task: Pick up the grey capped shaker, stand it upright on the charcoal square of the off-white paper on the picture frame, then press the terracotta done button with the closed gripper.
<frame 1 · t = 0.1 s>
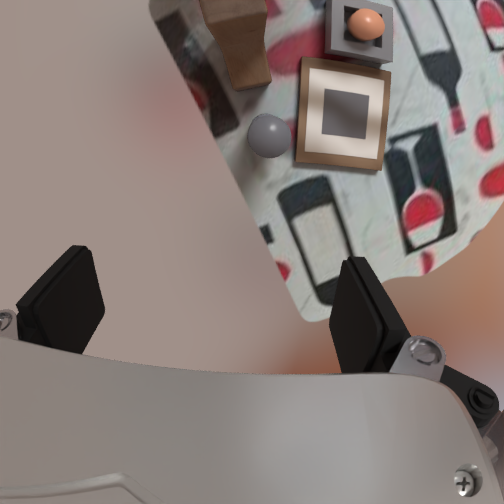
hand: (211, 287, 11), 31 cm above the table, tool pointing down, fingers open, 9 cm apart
done button: (365, 25, 26), point 4 cm above the table, slide at 0.0 cm
wooden block: (245, 56, 33), on the table
grey capped shaker: (265, 128, 37), on the table
button housing: (354, 31, 30), on the table
picture frame: (343, 113, 36), on the table
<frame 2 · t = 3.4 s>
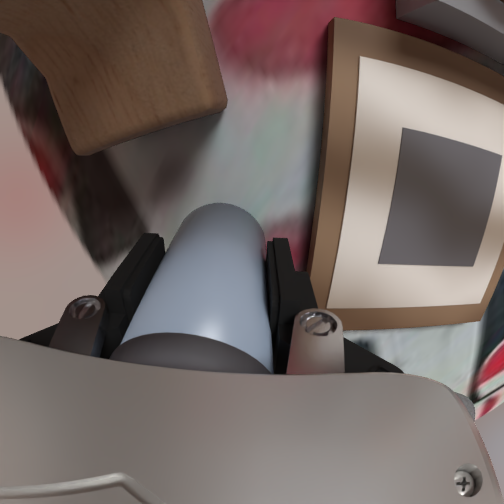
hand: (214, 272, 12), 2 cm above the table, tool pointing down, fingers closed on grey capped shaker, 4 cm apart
wooden block: (153, 28, 9), on the table
grey capped shaker: (220, 245, 14), on the table, touching gripper
picture frame: (435, 198, 12), on the table
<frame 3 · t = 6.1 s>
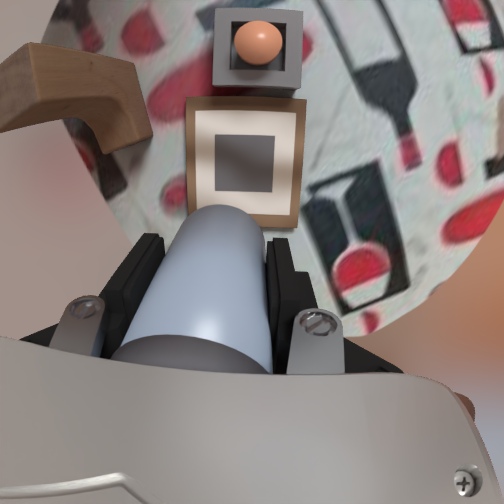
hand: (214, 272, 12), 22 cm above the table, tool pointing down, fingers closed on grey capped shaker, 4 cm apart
done button: (258, 43, 22), point 4 cm above the table, slide at 0.0 cm
wooden block: (126, 105, 28), on the table
grey capped shaker: (220, 246, 14), point 20 cm above the table, touching gripper
button housing: (257, 51, 26), on the table
picture frame: (244, 161, 31), on the table
when the fingers open (4 cm above the table, at t = 8.9 s): grey capped shaker stays where it is, resting on picture frame.
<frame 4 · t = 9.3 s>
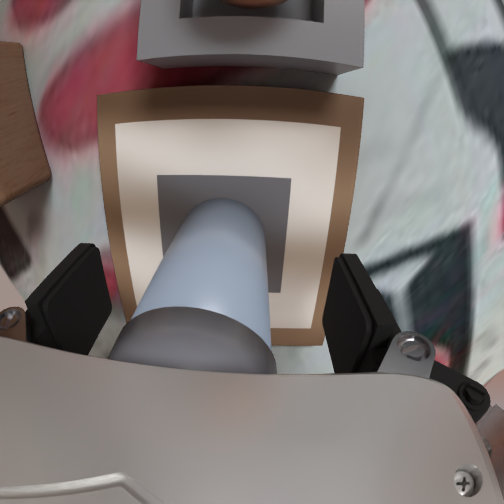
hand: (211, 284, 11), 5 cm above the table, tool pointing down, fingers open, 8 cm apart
wooden block: (13, 121, 12), on the table
grey capped shaker: (222, 238, 14), point 1 cm above the table, touching picture frame
picture frame: (224, 228, 15), on the table
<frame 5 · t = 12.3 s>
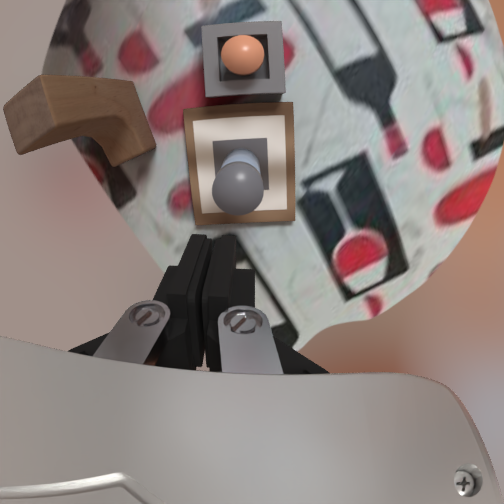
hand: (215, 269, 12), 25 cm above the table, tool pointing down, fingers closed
done button: (243, 55, 25), point 4 cm above the table, slide at 0.0 cm
wooden block: (129, 120, 32), on the table
grey capped shaker: (241, 165, 33), point 1 cm above the table, touching picture frame
button housing: (244, 61, 29), on the table
picture frame: (241, 163, 34), on the table
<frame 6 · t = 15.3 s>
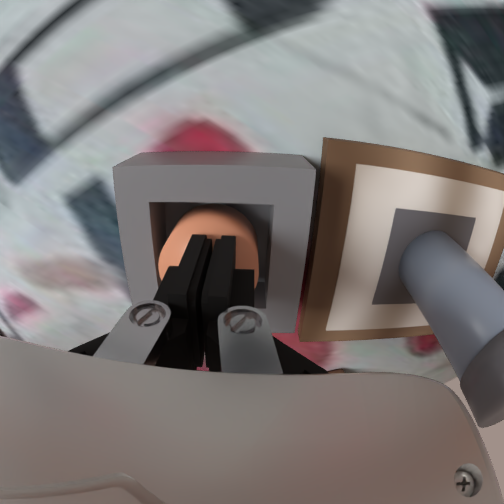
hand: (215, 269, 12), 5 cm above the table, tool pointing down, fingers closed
done button: (211, 257, 13), point 3 cm above the table, slide at 0.9 cm, touching gripper
grey capped shaker: (428, 261, 16), point 1 cm above the table, touching picture frame
button housing: (218, 227, 16), on the table
picture frame: (418, 252, 17), on the table
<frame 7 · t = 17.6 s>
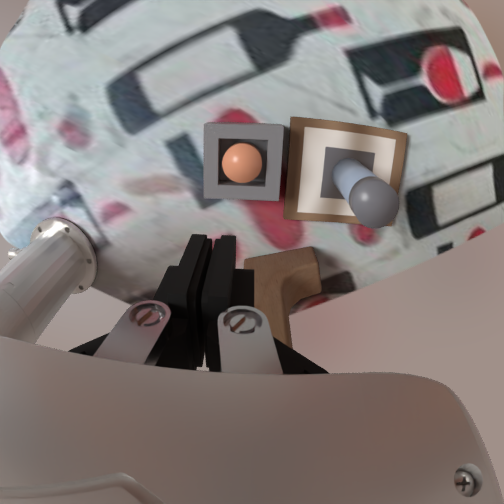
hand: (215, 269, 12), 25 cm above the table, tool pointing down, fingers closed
done button: (242, 161, 31), point 3 cm above the table, slide at 1.3 cm
wooden block: (280, 265, 40), on the table
grey capped shaker: (348, 175, 33), point 1 cm above the table, touching picture frame
button housing: (243, 156, 34), on the table
picture frame: (345, 172, 34), on the table
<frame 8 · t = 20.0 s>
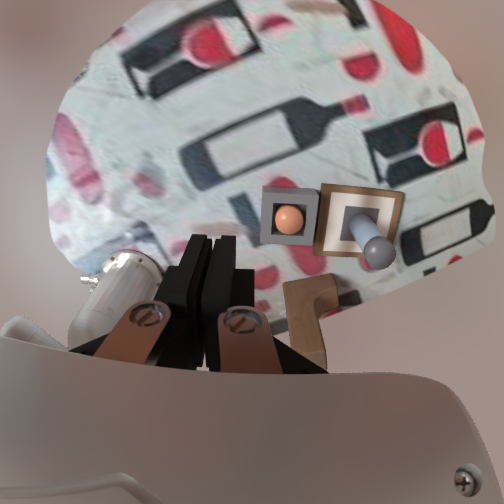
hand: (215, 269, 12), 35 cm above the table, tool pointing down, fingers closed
done button: (288, 218, 45), point 3 cm above the table, slide at 1.3 cm
wooden block: (308, 286, 54), on the table
grey capped shaker: (360, 224, 47), point 1 cm above the table, touching picture frame
button housing: (286, 211, 48), on the table
picture frame: (357, 222, 48), on the table
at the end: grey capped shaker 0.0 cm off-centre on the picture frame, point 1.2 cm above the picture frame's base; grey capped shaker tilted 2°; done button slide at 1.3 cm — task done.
